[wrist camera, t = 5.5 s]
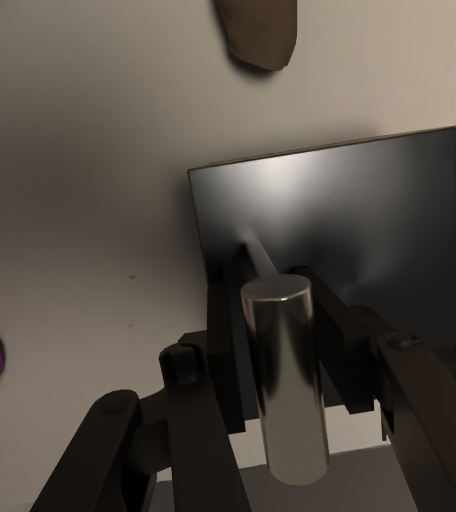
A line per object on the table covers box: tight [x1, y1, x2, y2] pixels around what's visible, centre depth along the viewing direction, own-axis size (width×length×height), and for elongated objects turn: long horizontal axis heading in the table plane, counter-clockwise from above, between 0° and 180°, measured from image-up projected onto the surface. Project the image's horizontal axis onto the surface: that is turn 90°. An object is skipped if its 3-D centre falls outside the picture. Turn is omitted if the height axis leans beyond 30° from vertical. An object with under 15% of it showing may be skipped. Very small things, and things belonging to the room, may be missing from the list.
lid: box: [187, 126, 456, 485], centre depth 14 cm, size 14×13×8 cm
